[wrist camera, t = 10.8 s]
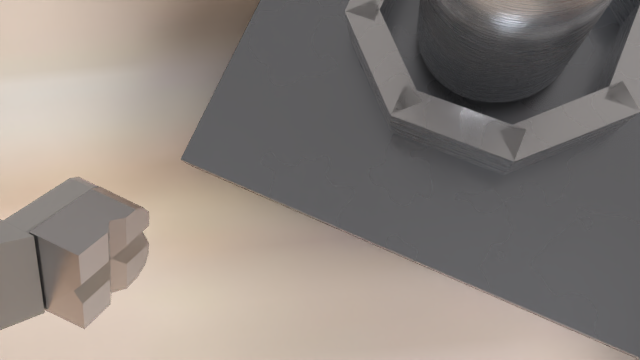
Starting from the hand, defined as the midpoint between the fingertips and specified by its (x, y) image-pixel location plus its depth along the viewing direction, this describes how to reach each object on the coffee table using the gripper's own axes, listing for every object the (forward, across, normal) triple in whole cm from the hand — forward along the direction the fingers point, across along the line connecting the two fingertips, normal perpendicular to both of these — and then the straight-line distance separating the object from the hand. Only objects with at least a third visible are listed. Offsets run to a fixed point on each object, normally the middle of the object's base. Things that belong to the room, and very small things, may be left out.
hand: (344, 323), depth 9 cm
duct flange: (+13, 0, -2) cm, 13 cm away
